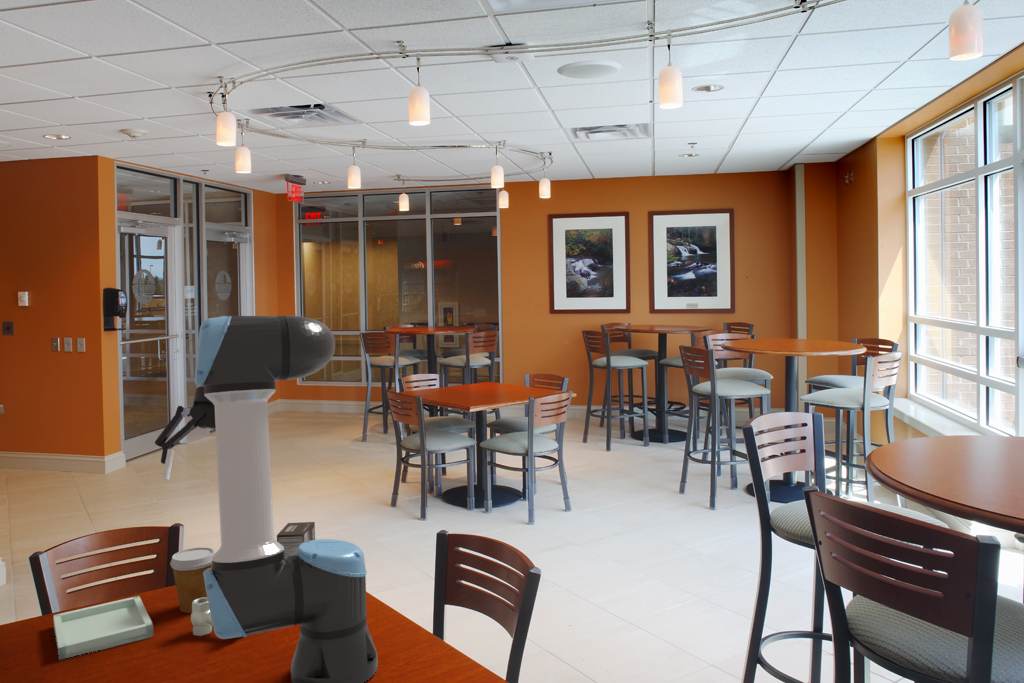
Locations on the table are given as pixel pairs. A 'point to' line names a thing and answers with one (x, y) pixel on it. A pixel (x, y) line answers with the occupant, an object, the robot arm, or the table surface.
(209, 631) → the valve
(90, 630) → the tray
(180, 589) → the disposable coffee cup
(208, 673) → the table surface
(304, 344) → the robot arm
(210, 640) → the table surface
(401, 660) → the table surface
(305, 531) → the coffee box
